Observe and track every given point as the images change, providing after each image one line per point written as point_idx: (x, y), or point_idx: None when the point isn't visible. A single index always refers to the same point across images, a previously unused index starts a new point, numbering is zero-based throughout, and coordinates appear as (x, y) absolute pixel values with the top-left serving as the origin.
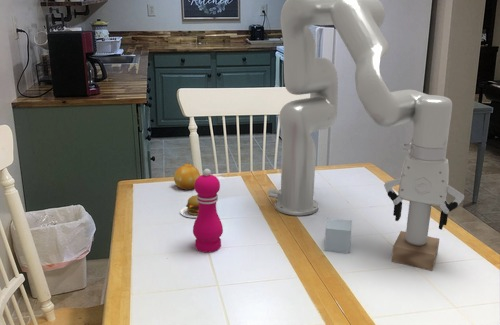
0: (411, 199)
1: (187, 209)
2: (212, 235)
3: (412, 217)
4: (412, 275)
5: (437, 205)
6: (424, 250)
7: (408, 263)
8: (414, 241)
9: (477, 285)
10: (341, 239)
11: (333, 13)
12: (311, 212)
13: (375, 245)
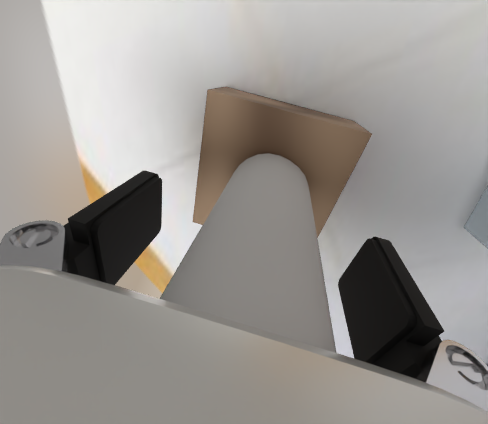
0: (378, 391)
1: None
2: None
3: (302, 228)
4: (296, 22)
5: (41, 268)
6: (243, 120)
7: (299, 107)
8: (279, 158)
9: (91, 17)
10: None
11: None
12: None
13: (378, 218)
